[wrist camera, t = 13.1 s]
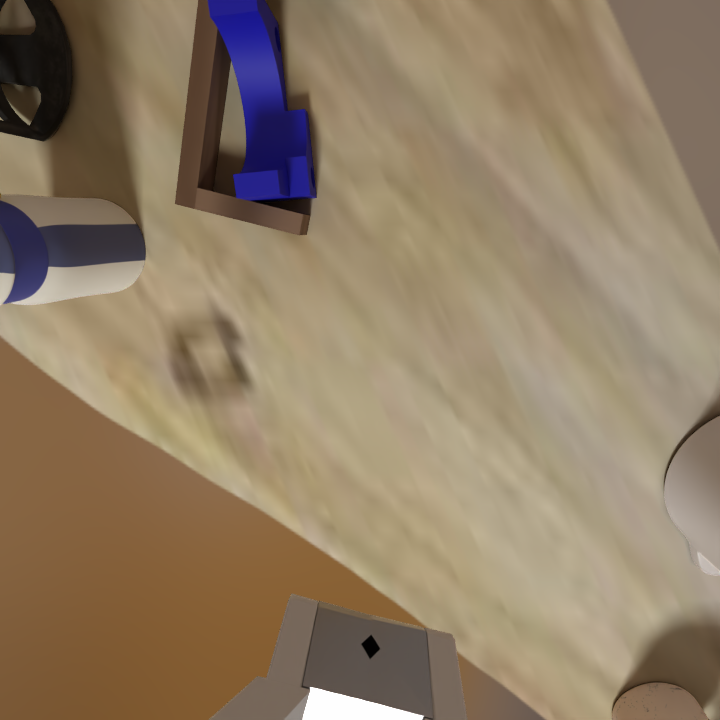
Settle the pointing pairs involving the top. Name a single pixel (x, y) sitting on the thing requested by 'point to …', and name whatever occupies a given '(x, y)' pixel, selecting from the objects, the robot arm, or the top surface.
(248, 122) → the cable clip
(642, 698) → the teacup with lid
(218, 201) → the bracket
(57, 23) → the holder
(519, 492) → the top surface
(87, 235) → the water bottle
